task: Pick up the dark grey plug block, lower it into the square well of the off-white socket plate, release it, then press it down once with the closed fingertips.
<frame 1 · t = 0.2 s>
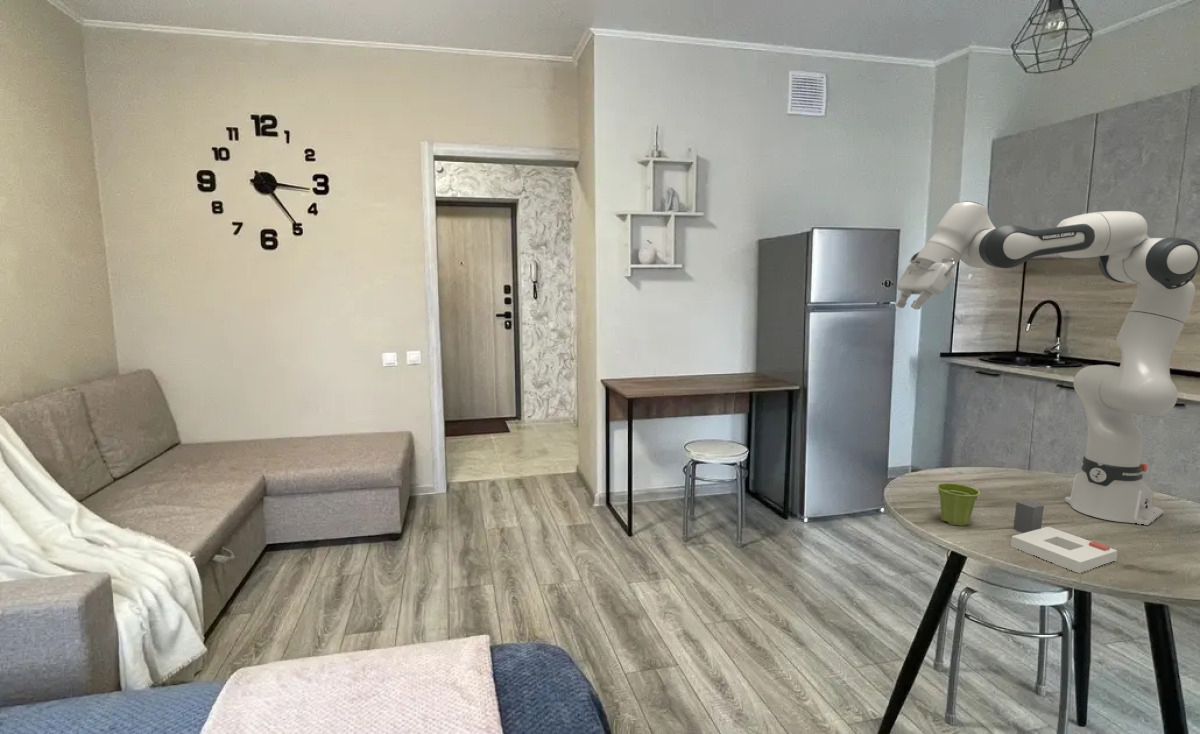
hand: (906, 307, 155), 54 cm above the table, tool tilted 30°, fingers open, 8 cm apart
plug: (1026, 530, 147), on the table
plant pot: (954, 522, 153), on the table
socket plate: (1061, 553, 135), on the table
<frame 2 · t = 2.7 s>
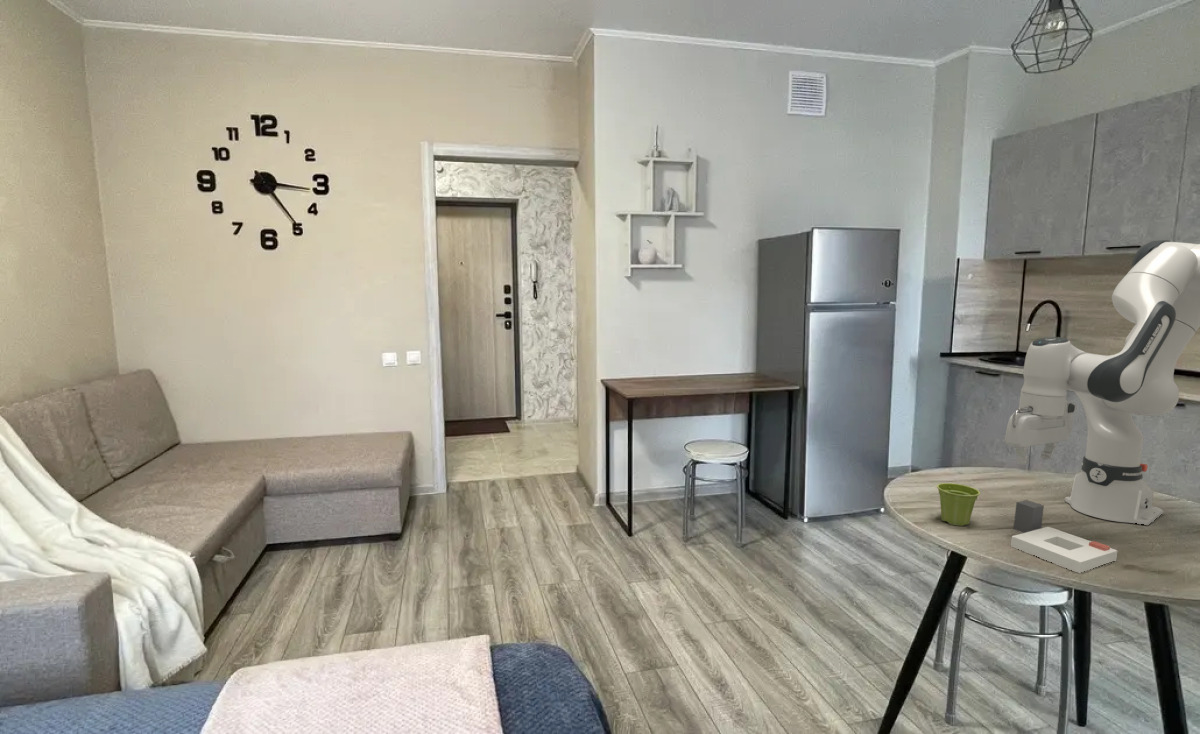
hand: (1034, 461, 145), 18 cm above the table, tool pointing down, fingers open, 8 cm apart
nothing on the table moved.
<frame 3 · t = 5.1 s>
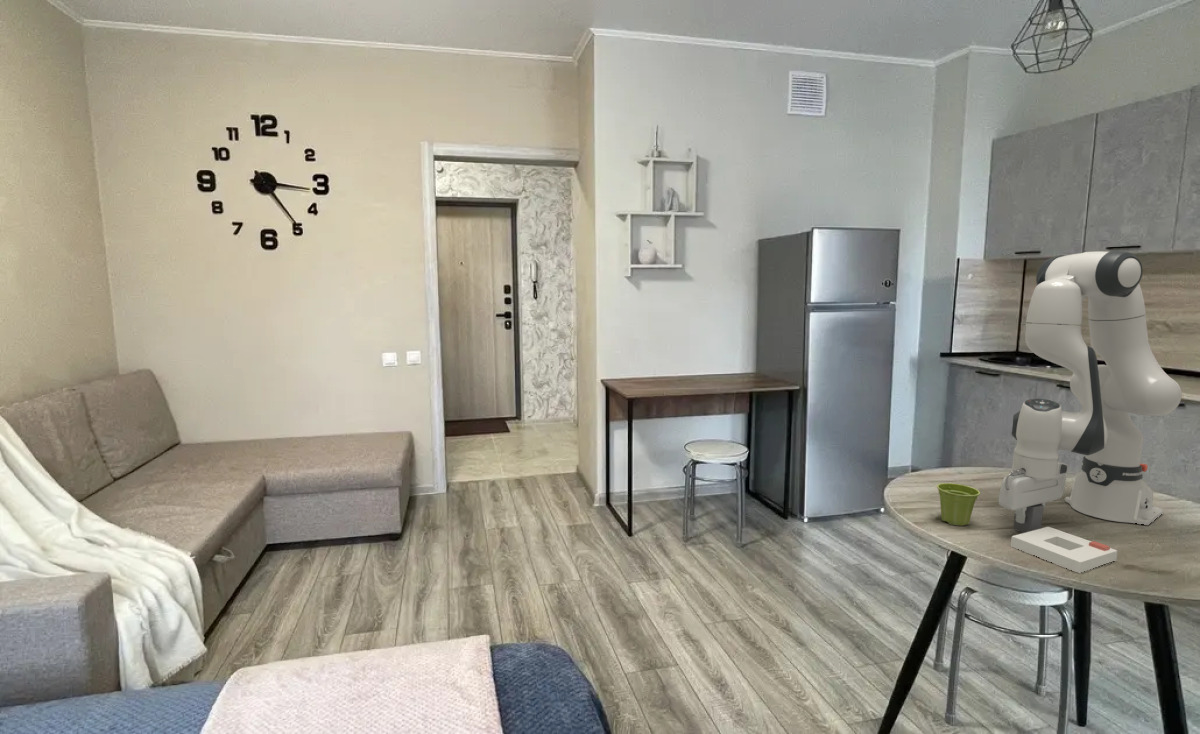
hand: (1028, 520, 147), 3 cm above the table, tool pointing down, fingers closed on plug, 4 cm apart
plug: (1026, 530, 147), on the table, touching gripper
everything else where it was.
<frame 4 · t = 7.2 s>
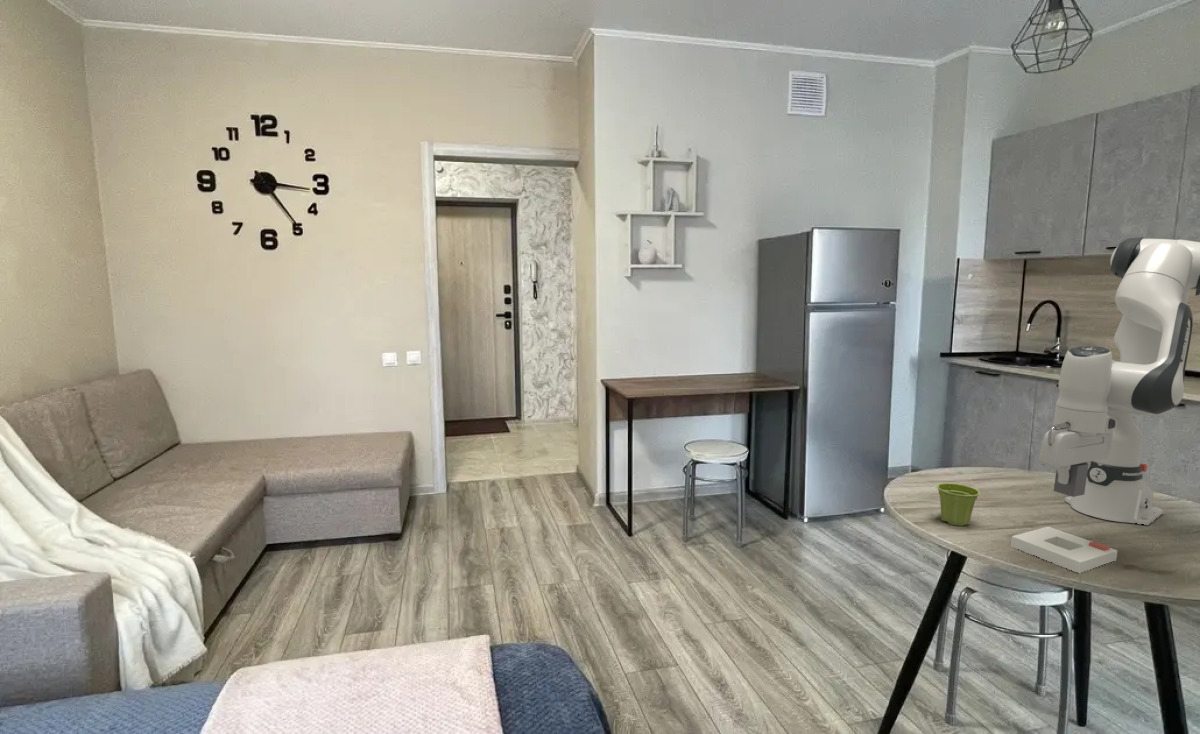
hand: (1071, 481, 133), 17 cm above the table, tool pointing down, fingers closed on plug, 4 cm apart
plug: (1068, 492, 133), point 14 cm above the table, touching gripper
everything else where it was.
when the fingers open (4 cm above the table, at t = 9.5 s): plug drops 1 cm, resting in socket plate.
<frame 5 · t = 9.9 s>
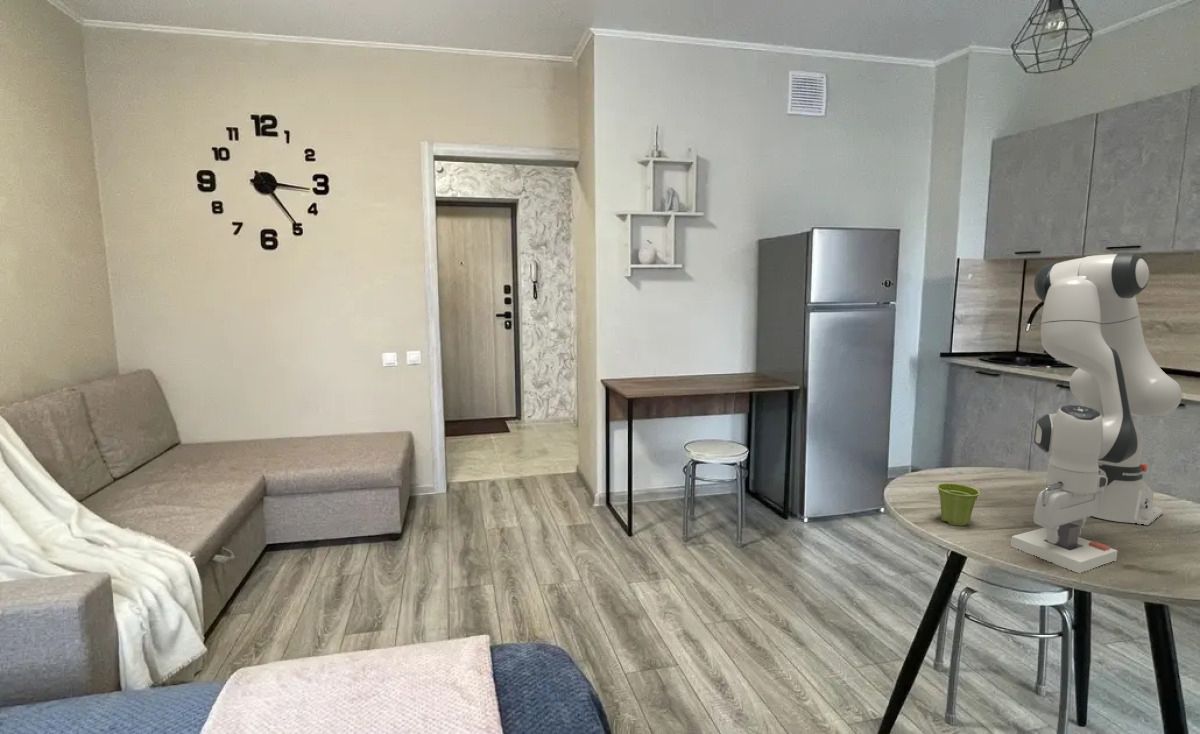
hand: (1063, 538, 135), 4 cm above the table, tool pointing down, fingers open, 7 cm apart
plug: (1060, 553, 135), resting in socket plate
everything else where it was.
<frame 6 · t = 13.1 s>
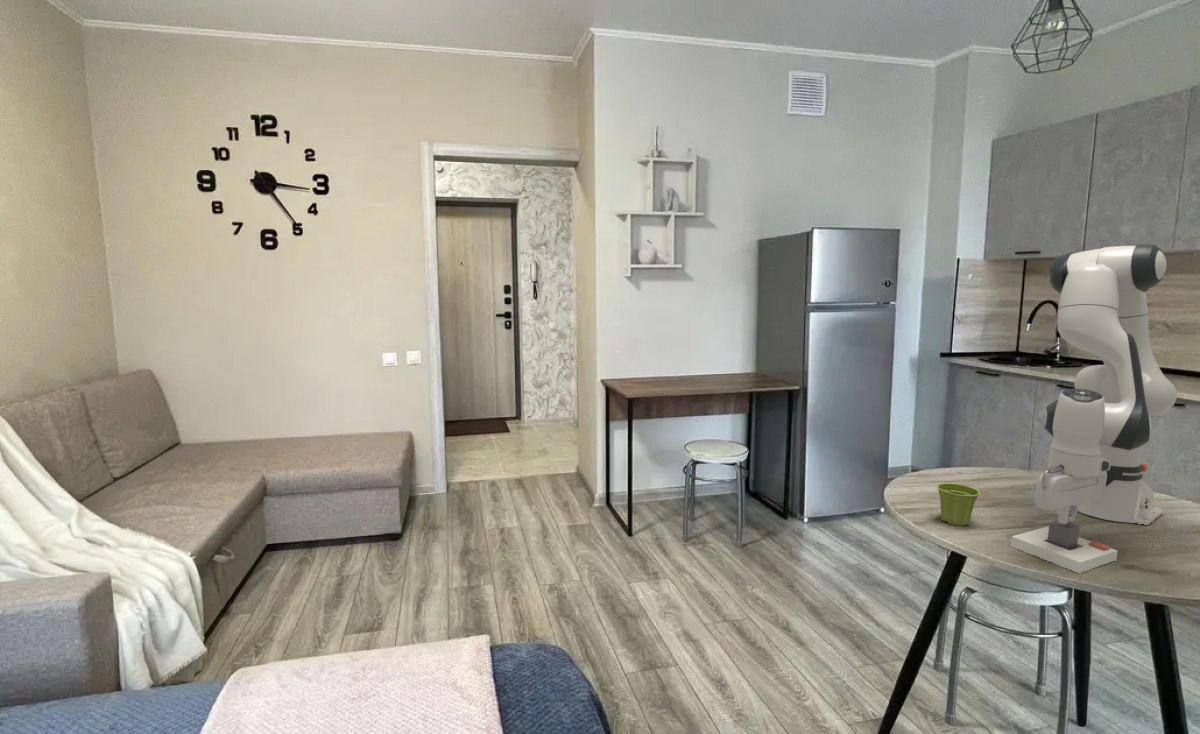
hand: (1065, 522, 134), 7 cm above the table, tool pointing down, fingers closed
nothing on the table moved.
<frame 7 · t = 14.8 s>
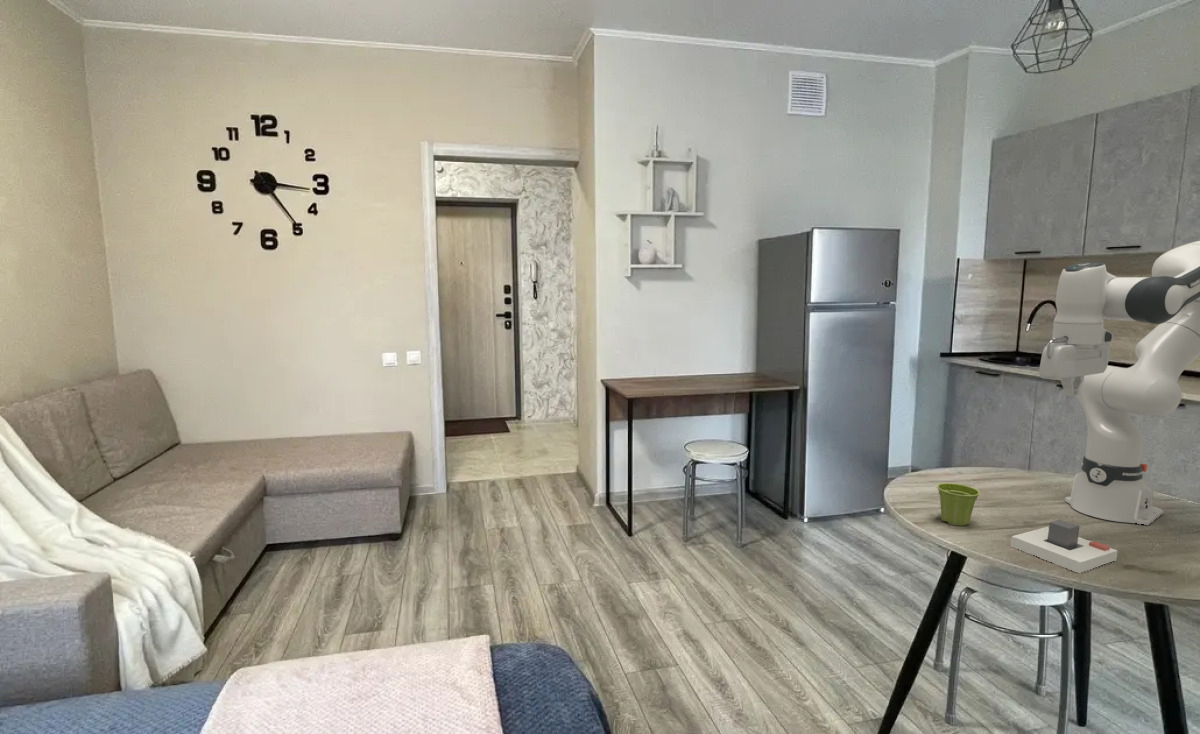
hand: (1070, 395, 137), 35 cm above the table, tool pointing down, fingers closed
nothing on the table moved.
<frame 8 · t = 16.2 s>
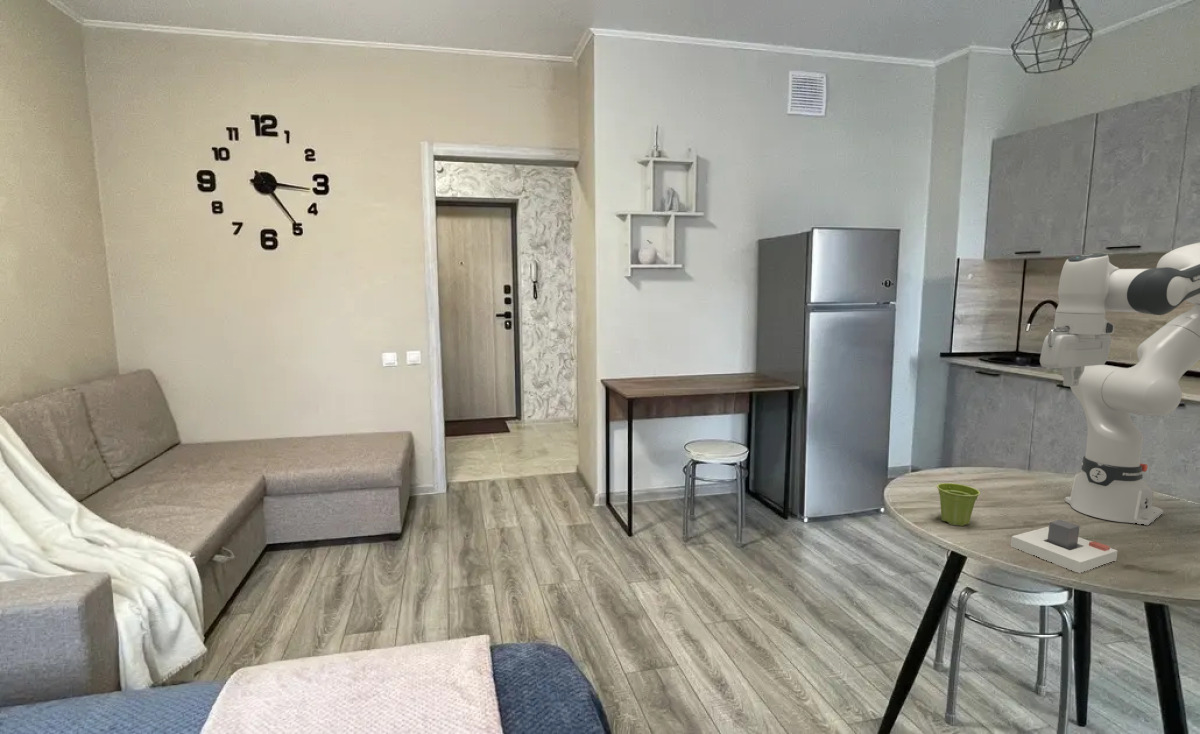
hand: (1070, 385, 138), 37 cm above the table, tool pointing down, fingers closed
nothing on the table moved.
at the end: plug 0.2 cm off-centre on the socket plate, point 0.0 cm above the socket plate's base; plug tilted 0°; the gripper is holding nothing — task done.
